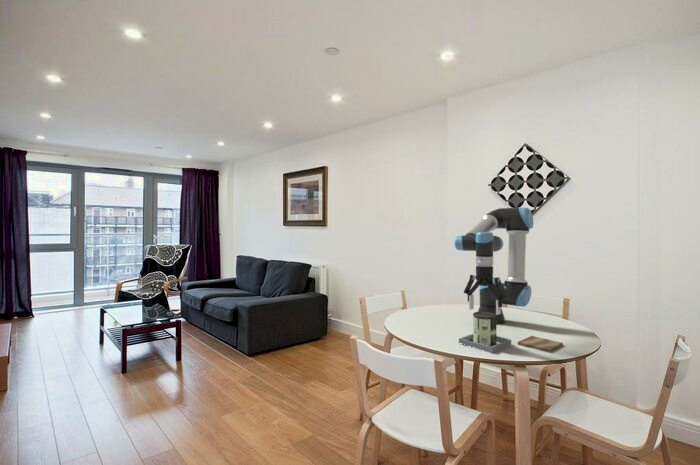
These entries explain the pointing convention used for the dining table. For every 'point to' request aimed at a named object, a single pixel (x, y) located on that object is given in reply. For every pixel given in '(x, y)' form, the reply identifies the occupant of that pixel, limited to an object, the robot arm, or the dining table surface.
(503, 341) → the grey flat open frame
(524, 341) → the walnut board
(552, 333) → the dining table surface
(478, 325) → the coffee can
